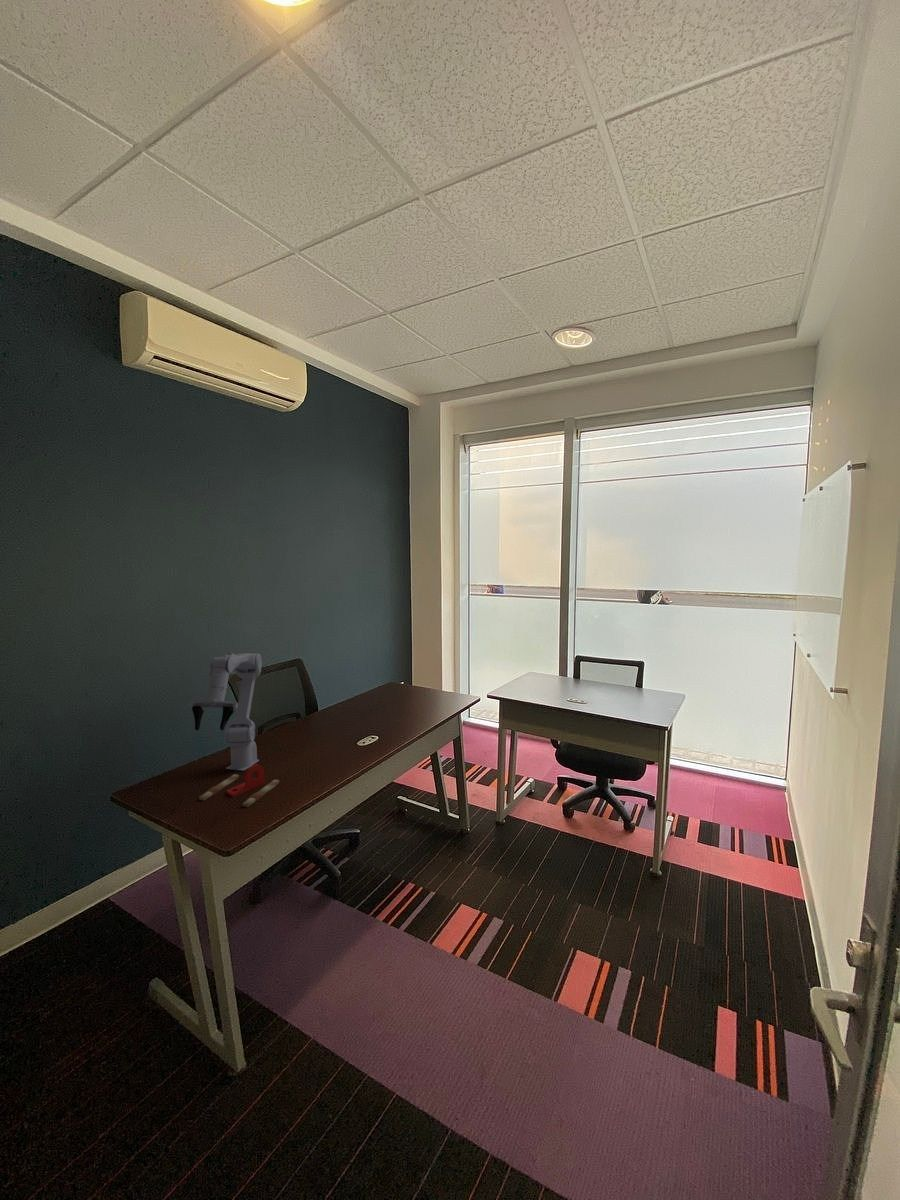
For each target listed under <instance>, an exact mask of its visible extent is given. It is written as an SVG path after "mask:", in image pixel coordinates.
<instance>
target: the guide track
mask: <svg viewBox="0 0 900 1200" xmlns="http://www.w3.org/2000/svg"><path fill="white" fill-rule="evenodd" d="M239 778H240V775H239V774H235V773H234V774H232V775H231V776H229V777H228V778H226V779H225V780H223V781H221V782H220V783H218V784H217V785H215V786H212V787H210V788H209V789H207V791H206V792H204V793H203V794H201V795H199V796H198V799H199V801H206V800H207V799H208V798H210V797H212V796H213V795H215V794H217V793H218V792H220V791H221V790H223V789H224V788H225V787H227V786H228V785H230V784H232V783H233V782H234V781H235V780H237V779H239ZM278 784H280V779H273V780H272V781H271V782H269V783H268V784H266V785H265V786H264V787H262V788H261V789H260V790H259V791H257V792H254V793H253V794H251V795H250V796H249V798H247V799H246V800H245V801H244V802H243V803H241V804H242V807H243V808H249V807H250V806H251V805H253V804H254V803H255V802H257V801H258V800H260V798H262V797H263V796H264V795H266V794H267V793H268V792H269V791H271V790H272V789H273V788H275V787H276V786H277V785H278Z"/></svg>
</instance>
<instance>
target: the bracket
mask: <svg viewBox="0 0 900 1200" xmlns="http://www.w3.org/2000/svg"><path fill="white" fill-rule="evenodd" d="M255 772H257V774H256V775H255V777H253V774H254V773H255ZM264 784H266V781H265V768H264V767H263V766H262V765H260V764H257V763H255V764H254V765H252V766H251V767H249V768H247V769H246V770H245V774H244V782H242V783H240V784H238V785H236V786H233V787H231V788H229V789H227V791H226V794H227V795H228V796H229V797H232V798H235V797H237V796H239V795H241V794H243V793H246V792H248V791H250V790H252V789H255V788H257V787H260V786H261V785H264Z"/></svg>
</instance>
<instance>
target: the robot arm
mask: <svg viewBox="0 0 900 1200" xmlns="http://www.w3.org/2000/svg"><path fill="white" fill-rule="evenodd" d="M262 666H263V658H262V655H261V654H260V653H244V652H243V653H233V652H227V654H222V656H215V657H213V658H212V659H211V660H210V661H209V677H210V678H209V683H208V687H207V692H206V693H207V694H206V698H205V699H204V700H197V701H196V700H195V701H194V700H191V701H190V703H189V708H190V709H191V711H192V714H193V717H194V718H193V719H194V730H195V731H199V730H200V727H201V721H202V718H203V714H204V712H205V710H204V709H222V715H221V721H220V725H219V730H220V731H224V730H225V731H224V734H223V735H224V736H223V737H224V738H223V739H224V741H225V744H227V745H228V747H230V748H229V749H230V763H231V764H230V765H228V766H227V767H225V769H226V770H233V771H239V772H240V771H241V772H245V771H247V770H248V768H249V767H251V766H252V765H255V764H257V763H258V762H259V761H260V759H258V751H257V749H258V747H257V744H256V742H255V737H256V724H255V722H254V721H253V720H252V719H250V713H251V710H252V709H251V708H252V703H253V696H254V689H255V683H256V679H257V678H258V677H260V675H261V672H262ZM234 670H235V674H236V676H237V677H238V678H240V679H241V686H240V691H239V697H238V701H229V700H225V699H226V693H227V688H228V682H229V677H230V673H231V674H232V673H233V671H234ZM234 710H236V714H235V717H234V718H233V719H231V720H230V718H231V717H232V715H233V714H234V712H235V711H234ZM229 720H230V721H229ZM228 721H229V722H228ZM226 725H227V726H226ZM225 728H226V729H225Z"/></svg>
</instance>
